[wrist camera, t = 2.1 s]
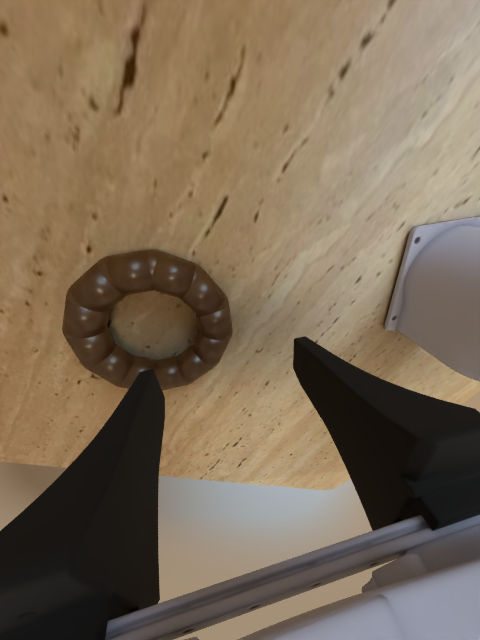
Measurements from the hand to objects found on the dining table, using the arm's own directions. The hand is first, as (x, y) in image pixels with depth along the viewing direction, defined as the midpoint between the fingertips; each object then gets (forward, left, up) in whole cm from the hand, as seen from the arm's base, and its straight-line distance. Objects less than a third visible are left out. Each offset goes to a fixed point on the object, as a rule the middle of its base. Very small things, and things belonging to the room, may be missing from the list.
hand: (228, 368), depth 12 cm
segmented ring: (0, +4, -6) cm, 7 cm away
